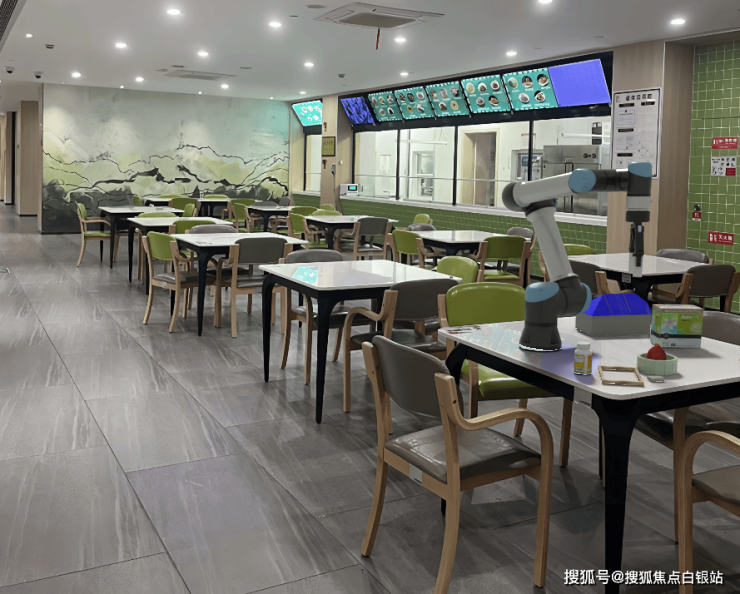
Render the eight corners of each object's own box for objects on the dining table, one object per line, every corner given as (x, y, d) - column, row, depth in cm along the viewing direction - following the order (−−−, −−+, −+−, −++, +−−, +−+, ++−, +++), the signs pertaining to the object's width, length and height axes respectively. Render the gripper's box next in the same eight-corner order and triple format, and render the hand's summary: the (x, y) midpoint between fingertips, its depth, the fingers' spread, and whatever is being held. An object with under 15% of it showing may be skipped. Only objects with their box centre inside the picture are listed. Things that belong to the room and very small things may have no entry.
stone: (650, 383, 215) (651, 378, 215) (646, 380, 218) (647, 375, 218) (664, 383, 215) (664, 378, 215) (660, 380, 218) (660, 375, 218)
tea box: (659, 348, 261) (661, 308, 258) (649, 342, 270) (651, 303, 268) (701, 348, 260) (704, 307, 258) (690, 342, 270) (692, 303, 268)
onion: (649, 364, 233) (651, 340, 232) (668, 367, 229) (669, 342, 228) (643, 367, 229) (644, 343, 228) (662, 370, 225) (663, 345, 224)
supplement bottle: (588, 371, 229) (589, 341, 227) (594, 375, 223) (595, 344, 222) (571, 371, 228) (572, 341, 227) (576, 375, 223) (577, 344, 222)
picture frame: (602, 384, 213) (602, 380, 213) (597, 369, 231) (597, 365, 231) (643, 386, 211) (643, 382, 210) (636, 370, 228) (636, 367, 228)
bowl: (639, 374, 224) (639, 359, 224) (634, 365, 236) (635, 351, 235) (679, 376, 222) (680, 361, 221) (673, 367, 233) (673, 353, 232)
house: (631, 327, 302) (633, 289, 300) (651, 334, 286) (653, 295, 284) (574, 329, 299) (575, 291, 297) (590, 336, 283) (592, 296, 281)
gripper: (655, 211, 224) (652, 279, 227) (645, 208, 248) (642, 270, 251) (630, 211, 226) (627, 278, 229) (622, 208, 250) (619, 270, 253)
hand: (635, 274), depth 240 cm, fingers open, 13 cm apart
